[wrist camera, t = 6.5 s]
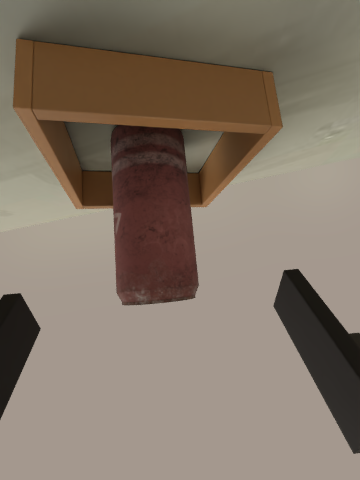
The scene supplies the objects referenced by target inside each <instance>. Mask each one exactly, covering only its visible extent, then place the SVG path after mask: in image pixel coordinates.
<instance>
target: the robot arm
mask: <svg viewBox="0 0 360 480" xmlns="http://www.w3.org/2000/svg"><path fill="white" fill-rule="evenodd" d="M274 308H275V310H276V312H277V313H278V315H279V317H280V319H281V321H282V322H283V324H284V326H285V328H286V330H287V332H288V334H289V335H290V337H291V339H292V341H293V343H294V345H295V346H296V348H297V350H298V352H299V354H300V356H301V358H302V359H303V361H304V363H305V365H306V367H307V369H308V370H309V372H310V374H311V376H312V378H313V380H314V382H315V383H316V385H317V387H318V389H319V391H320V393H321V394H322V396H323V398H324V400H325V402H326V404H327V405H328V407H329V409H330V411H331V413H332V415H333V417H334V418H335V420H336V422H337V424H338V426H339V428H340V429H341V431H342V433H343V435H344V437H345V439H346V441H347V442H348V444H349V446H350V448H351V450H352V452H353V453H354V454H355V453H360V333H352V334H348V332H347V331H346V330H345V329H344V327H343V326H342V325H341V323H340V322H339V321H338V319H337V318H336V317H335V316H334V314H333V313H332V312H331V311H330V309H329V308H328V307H327V305H326V304H325V303H324V302H323V300H322V299H321V298H320V297H319V295H318V294H317V293H316V291H315V290H314V289H313V288H312V286H311V285H310V284H309V282H308V281H307V280H306V278H305V277H304V276H303V275H302V273H301V272H300V271H299V269H293V270H284V272H283V276H282V279H281V282H280V286H279V289H278V292H277V296H276V299H275V303H274ZM39 331H40V327H39V325H38V323H37V321H36V320H35V318H34V316H33V315H32V313H31V311H30V309H29V307H28V306H27V304H26V302H25V301H24V299H23V297H22V295H21V294H20V293H18V294H7V295H3V297H2V298H1V300H0V419H1V417H2V415H3V412H4V410H5V408H6V406H7V403H8V401H9V399H10V397H11V394H12V392H13V390H14V388H15V385H16V383H17V381H18V379H19V376H20V374H21V372H22V369H23V367H24V365H25V363H26V361H27V358H28V356H29V354H30V352H31V349H32V347H33V345H34V342H35V340H36V338H37V336H38V334H39Z"/></svg>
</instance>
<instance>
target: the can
mask: <svg viewBox="0 0 360 480" xmlns="http://www.w3.org/2000/svg"><path fill="white" fill-rule="evenodd" d="M111 160H112V185H113V211H114V235H115V260H116V261H115V262H116V287H117V294H118V296H119V297H120V299H121V301H122V305H143V304H155V303H165V302H173V301H181V300H187V299H193V298H195V293H196V291H197V288H198V285H199V284H198V273H197V264H196V254H195V245H194V236H193V226H192V217H191V206H190V196H189V187H188V177H187V167H186V158H185V148H184V138H183V135H182V132H181V130H180V129H178V128H162V127H147V126H131V125H117V127H116V128H115V129H114V131H113V132H112V135H111Z"/></svg>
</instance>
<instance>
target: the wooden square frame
mask: <svg viewBox="0 0 360 480" xmlns="http://www.w3.org/2000/svg"><path fill="white" fill-rule="evenodd" d="M13 108H14V110H15V111H16V113H17V115H18V116H19V118H20V119H21V121H22V123H23V124H24V126H25V127H26V129H27V131H28V132H29V134H30V135H31V137H32V139H33V140H34V142H35V143H36V145H37V147H38V148H39V150H40V151H41V153H42V155H43V156H44V158H45V160H46V161H47V163H48V164H49V166H50V168H51V169H52V171H53V172H54V174H55V176H56V177H57V179H58V180H59V182H60V184H61V185H62V187H63V188H64V190H65V192H66V193H67V195H68V196H69V198H70V200H71V201H72V203H73V204H74V206H75V208H76V209H84V208H85V209H94V208H113V185H112V172H104V171H83V172H82V169H81V166H80V164H79V161H78V158H77V156H76V153H75V151H74V148H73V145H72V143H71V140H70V137H69V135H68V132H67V129H66V127H65V124H64V121H68V122H84V123H100V124H115V125H131V126H147V127H162V128H178V129H193V130H209V131H225V132H224V133H223V135H222V137H221V138H220V140H219V141H218V143H217V145H216V146H215V148H214V150H213V151H212V153H211V154H210V156H209V158H208V159H207V161H206V163H205V164H204V166H203V167H202V169H201V171H200V172H199V174H198V173H187V177H188V187H189V196H190V206H191V207H207V206H208V205H209V204H210V203H211V202H212V201H213V199H214V198H215V197H216V196H217V195H218V194H219V193H220V192H221V191H222V190H223V189H224V188H225V187H226V186H227V185H228V184H229V183H230V182H231V181H232V180H233V179H234V178H235V177H236V176H237V174H238V173H239V172H240V171H241V170H242V169H243V168H244V167H245V166H246V165H247V164H248V163H249V162H250V161H251V160H252V159H253V158H254V157H255V156H256V155H257V154H258V153H259V151H260V150H261V149H262V148H263V147H264V146H265V145H266V144H267V143H268V142H269V141H270V140H271V139H272V138H273V137H274V136H275V135H276V134H277V133H278V132H279V131H280V130H281V128H282V127H283V125H282V120H281V115H280V110H279V104H278V99H277V94H276V89H275V83H274V78H273V73H272V72H266V71H262V72H261V71H258V70H250V69H243V68H235V67H228V66H220V65H212V64H205V63H197V62H190V61H182V60H174V59H167V58H159V57H152V56H144V55H136V54H129V53H121V52H114V51H106V50H98V49H91V48H83V47H75V46H68V45H60V44H53V43H45V42H37V41H35V42H33V41H31V40H23V39H16V57H15V77H14V97H13Z"/></svg>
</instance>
